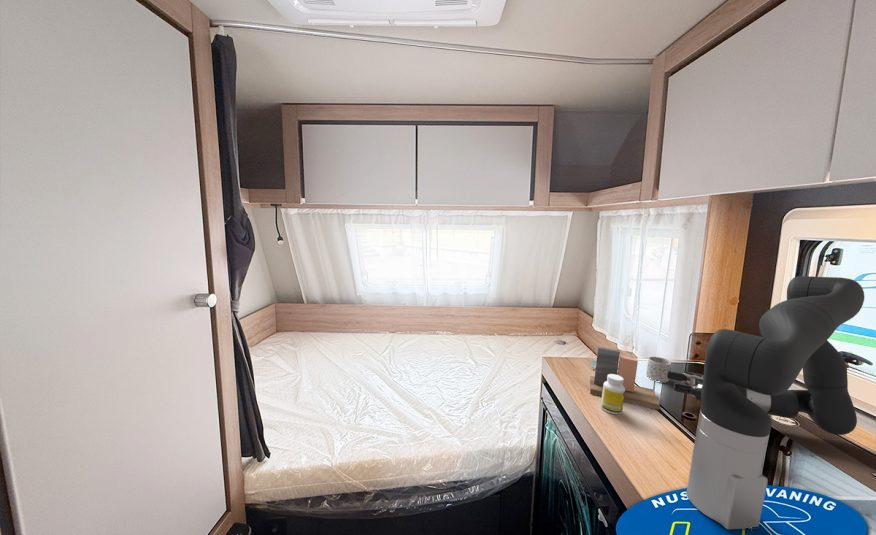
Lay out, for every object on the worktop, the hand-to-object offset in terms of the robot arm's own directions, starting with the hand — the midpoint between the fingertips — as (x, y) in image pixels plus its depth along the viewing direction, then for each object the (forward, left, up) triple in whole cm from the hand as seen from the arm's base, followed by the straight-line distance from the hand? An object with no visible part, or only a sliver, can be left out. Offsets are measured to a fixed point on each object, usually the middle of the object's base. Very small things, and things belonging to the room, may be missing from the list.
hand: (670, 380), depth 94 cm
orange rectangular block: (+6, +10, -6) cm, 13 cm away
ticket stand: (+6, +10, -7) cm, 14 cm away
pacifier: (+22, +7, -8) cm, 24 cm away
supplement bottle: (-3, +19, -8) cm, 21 cm away
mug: (+18, -11, -8) cm, 22 cm away
